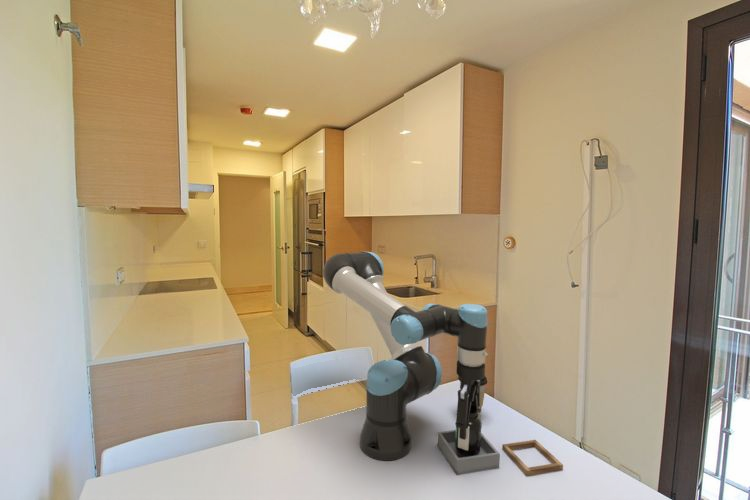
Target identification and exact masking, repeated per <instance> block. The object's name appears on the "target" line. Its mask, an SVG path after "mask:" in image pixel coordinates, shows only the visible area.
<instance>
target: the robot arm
mask: <svg viewBox="0 0 750 500" xmlns="http://www.w3.org/2000/svg"><path fill="white" fill-rule="evenodd" d="M384 268H385V267H384V263H383V260H382V259H381V258H380V257H379V255H377V254H376V253H374V252H372V251H359V252H345V253H343V252H341V253H336V254H334V255H332V256H330V257H329V258H328V259H327V260H326V262H325V263H324V266H323V269H322V270H323V271H322V276H323V280H324V282H325V283H326V285H327V287H329V288H330V289H331V290H332V291H334V292H335V293H337V294H343V295H345V296H346V297H347V298H349V299H350V300H352V301H353V302H354V303H355V304H357V305H359V307H361V308H363V309H364V310H366V312H368V313H370V315H371V318H372V319H373V322H374V323H375V326H376V327H377V329H378V331H379V333H380V335H381V337H382V339H383V341H384V343H385V345H386V347H387V350H388V351H389V353H390V355H391V358H390V359H388V360H385V359H384V360H380V361H377V362H375V363H374V364H372V365H371V366H370V367H369V368H368V370H367V375H366V377H367V378H366V383H365V387H366V405H365V406H366V410H365V411H366V413H365V414H366V416H365V420H364V423H363V425H362V428H361V432H360V435H359V446H360V449H361V450H362V452H363V453H365V455H367V456H369V457H370V458H371V459H375V460H380V461H395V460H399V459H400V458H403V457H405V456H406V455H408V453H409V452H410V450H411V449H412V434H411V431H410V429H409V425H408V421H407V405H408V404H410V403H413V402H414V401H417V400H418V399H420V398H422V397H424V396H427V395H429V394H431V393H432V392H433V391H434V390H436V389H438V387H439V386H440V384H441V383H442V382H441V381H442V377H443V373H442V371H443V369H442V366H441V364H440V362H439V359H438V358H437V357H436V356H435V355H434V354H431V352H430V353H429V352H425V349H424V348H423V346H422V345H421V344H418V342H420V341H423V340H425V339H429V338H431V337H435V336H437V335H440V334H446V335H449V336H452V337H453V336H454V337H457V348H456V349H457V350H456V351H457V352H456V359H457V361H456V375H457V377H458V376H460V377H461V378H462V379H463V382H461V390H460V389H458V390H457V407H456V417H455V418H456V419H455V428H456V427H459V430H458V447H459V448H461V449H464V450H467V451H468V447H469V426H468V423H469V416H470V409H471V405H472V406H475V407H476V408H477V409H478V412H479V413H480V412H481V413H482V409H479V408H478V407H479V406H480V380H481V379H483V378H484V376H485V377H486V373H485V372H486V364H485V362H486V357H488V356H489V353H487V352H486V350H487V349H486V348H487V332H488V331H487V330H488V325H489V323H488V310H487V308H486V307H485V306H482V305H480V304H476V303H475V304H473V303H464V304H461V305H460V306H459V308H453V307H449V306H446V305H445V306H444V305H442V304H438V303H428V304H426V305H425V306H424V307H423V308H422V309H421V310H420V311H415V310H414V309H411V308H410V307H408V306H407V305H406V304H403V303H402V302H400V300H398V299H396V298H394V297H393V296H391V295H390V294H389V293H388V292H387V290H386V287H385V286H384V285H383V282H384V279H385V277H384V273H385V270H384Z"/></svg>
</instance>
